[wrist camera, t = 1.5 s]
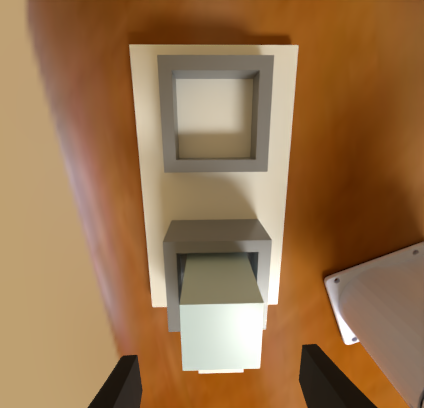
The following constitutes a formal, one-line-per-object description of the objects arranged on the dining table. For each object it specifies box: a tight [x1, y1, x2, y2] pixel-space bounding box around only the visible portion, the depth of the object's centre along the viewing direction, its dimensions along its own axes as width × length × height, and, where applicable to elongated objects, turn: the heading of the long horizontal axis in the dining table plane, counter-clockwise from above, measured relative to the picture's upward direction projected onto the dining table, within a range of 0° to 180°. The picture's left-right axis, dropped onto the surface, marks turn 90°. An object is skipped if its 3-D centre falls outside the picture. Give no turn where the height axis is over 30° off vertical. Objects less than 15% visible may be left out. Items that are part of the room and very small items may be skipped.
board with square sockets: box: [129, 44, 299, 332], centre depth 16 cm, size 20×11×5 cm, turn 0°
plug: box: [179, 252, 264, 373], centre depth 14 cm, size 5×4×6 cm
